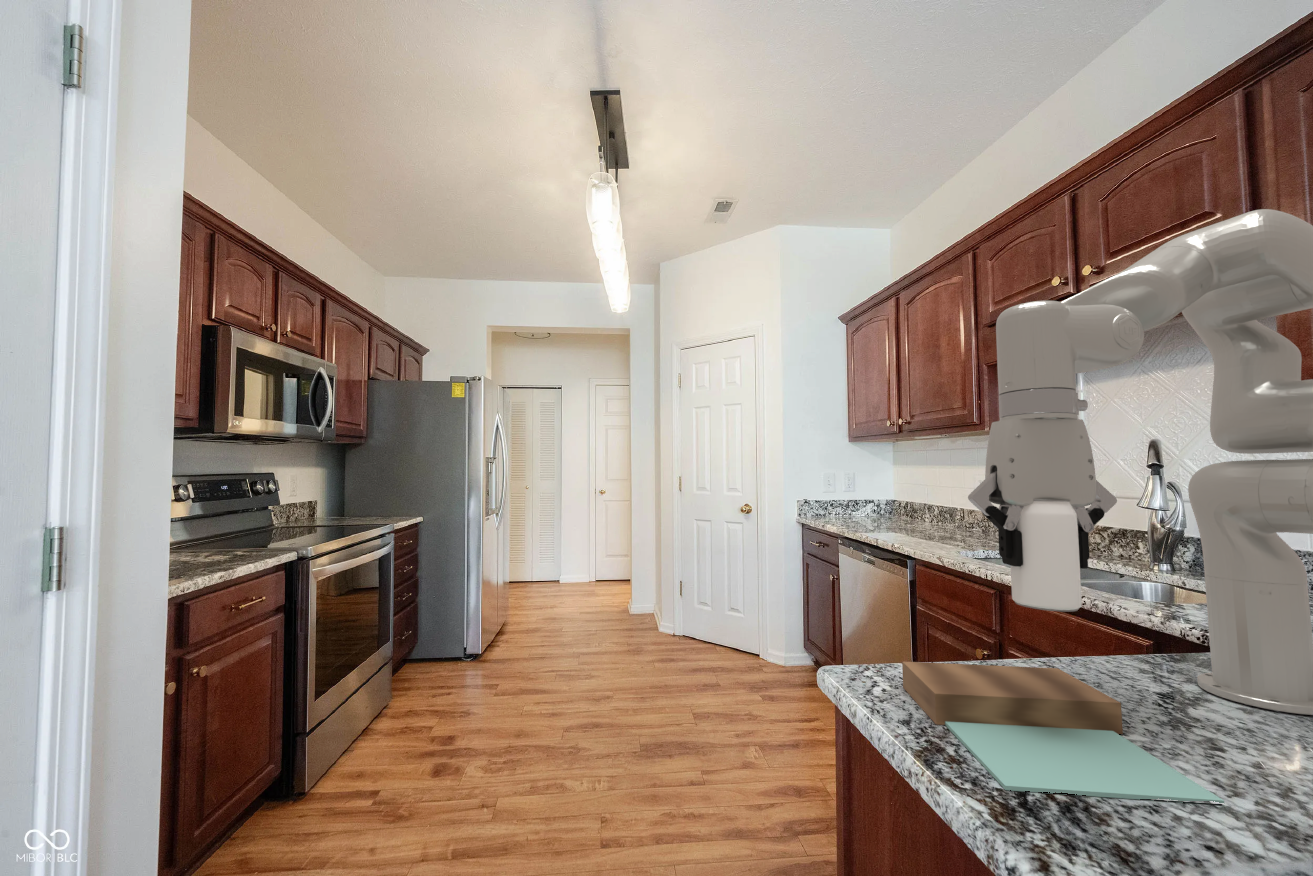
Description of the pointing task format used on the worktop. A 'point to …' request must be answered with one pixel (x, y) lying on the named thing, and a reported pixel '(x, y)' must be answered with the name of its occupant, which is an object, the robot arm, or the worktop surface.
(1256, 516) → the robot arm
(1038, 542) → the can
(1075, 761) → the mat
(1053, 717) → the board
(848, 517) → the worktop surface
